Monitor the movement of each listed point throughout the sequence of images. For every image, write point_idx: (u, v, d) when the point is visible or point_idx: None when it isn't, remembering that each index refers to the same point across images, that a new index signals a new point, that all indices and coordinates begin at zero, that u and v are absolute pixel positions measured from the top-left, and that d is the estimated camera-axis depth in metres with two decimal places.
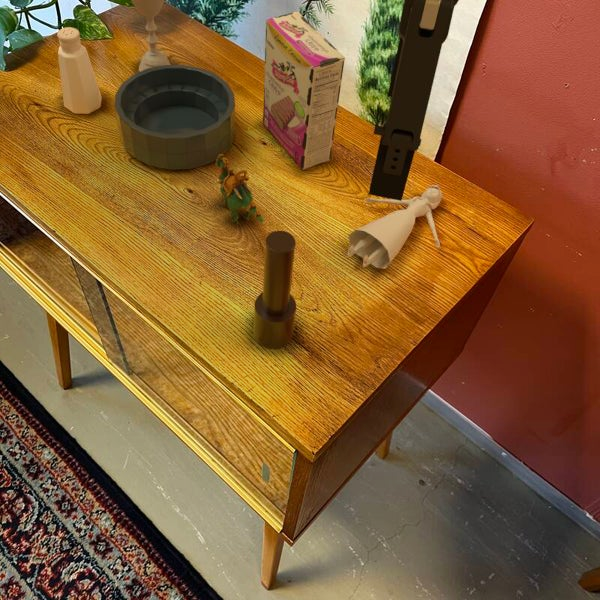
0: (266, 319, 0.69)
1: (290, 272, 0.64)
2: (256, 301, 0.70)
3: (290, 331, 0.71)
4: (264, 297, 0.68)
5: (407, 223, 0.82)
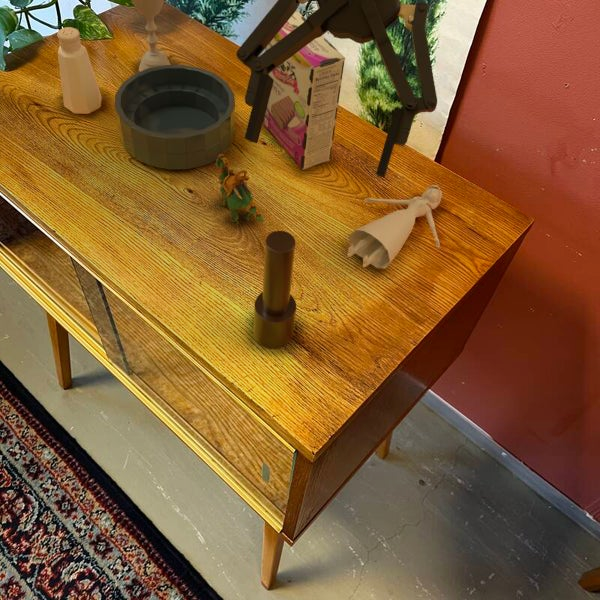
0: (266, 319, 0.69)
1: (290, 272, 0.64)
2: (256, 301, 0.70)
3: (290, 331, 0.71)
4: (264, 297, 0.68)
5: (407, 223, 0.82)
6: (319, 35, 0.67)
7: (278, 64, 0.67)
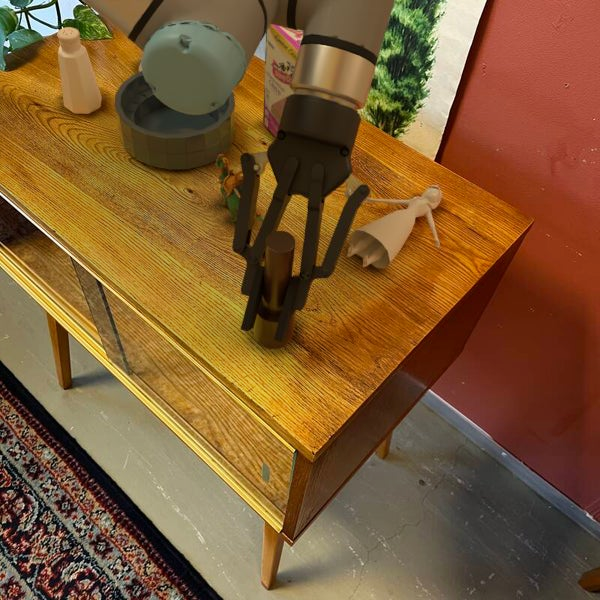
0: (266, 319, 0.69)
1: (290, 272, 0.64)
2: None
3: (290, 331, 0.71)
4: (264, 297, 0.68)
5: (407, 223, 0.82)
6: (289, 200, 0.67)
7: None
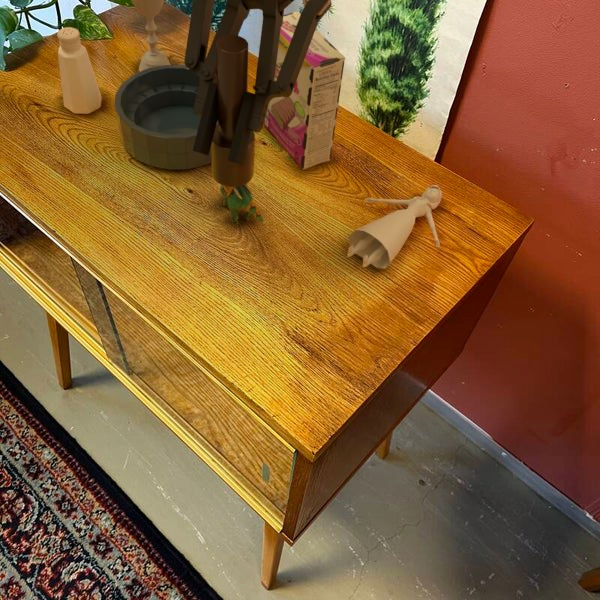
0: (222, 146, 0.65)
1: (244, 84, 0.61)
2: None
3: (249, 166, 0.68)
4: (219, 120, 0.64)
5: (407, 223, 0.82)
6: (246, 15, 0.63)
7: None
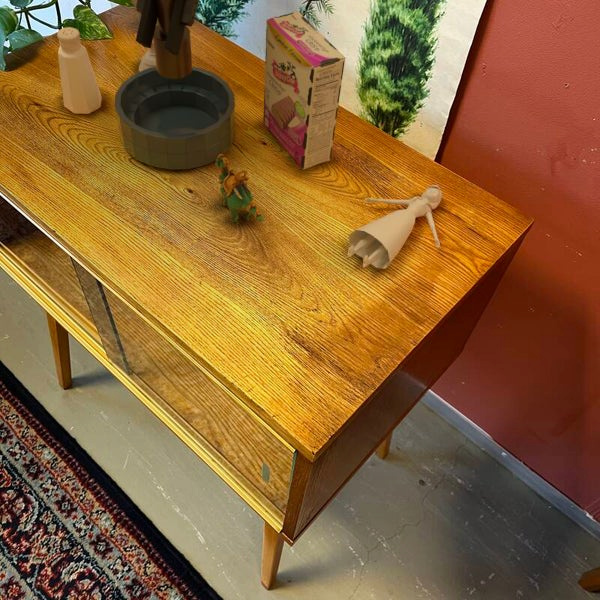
0: (161, 40, 0.78)
1: None
2: None
3: (186, 60, 0.81)
4: (158, 17, 0.77)
5: (407, 223, 0.82)
6: None
7: None
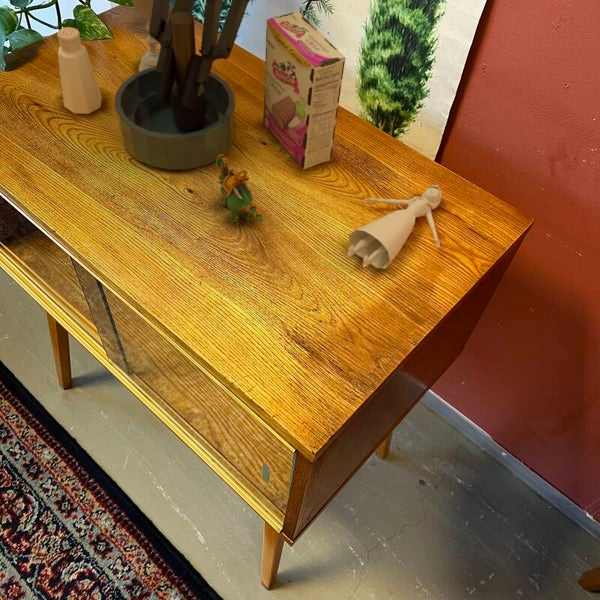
0: (178, 96, 0.87)
1: (192, 48, 0.83)
2: None
3: (200, 113, 0.90)
4: (176, 76, 0.86)
5: (407, 223, 0.82)
6: None
7: None
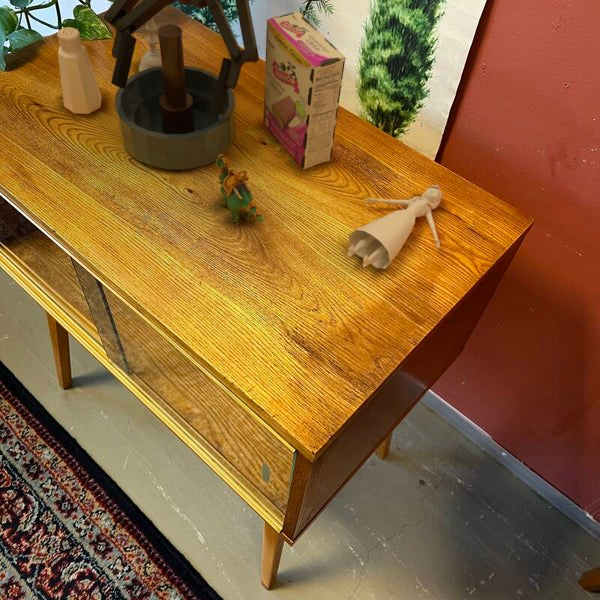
0: (167, 108, 0.87)
1: (181, 61, 0.82)
2: (161, 97, 0.88)
3: (189, 124, 0.90)
4: (164, 88, 0.86)
5: (407, 223, 0.82)
6: (170, 2, 0.85)
7: (138, 25, 0.85)
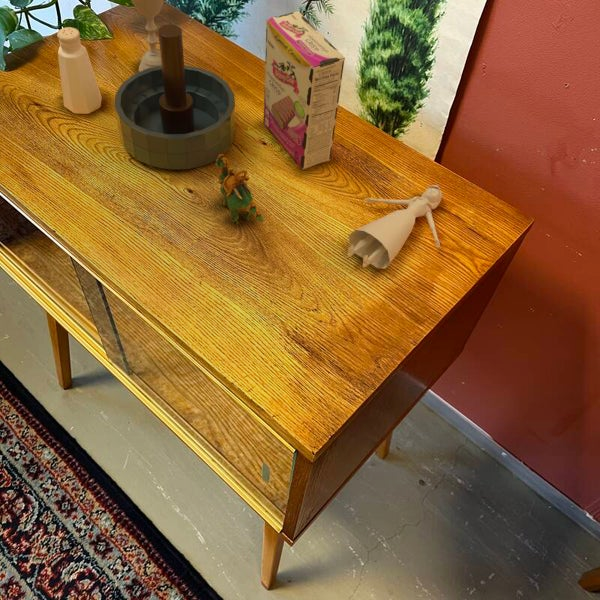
0: (167, 108, 0.87)
1: (181, 61, 0.82)
2: (161, 97, 0.88)
3: (189, 124, 0.90)
4: (164, 88, 0.86)
5: (407, 223, 0.82)
6: None
7: None
